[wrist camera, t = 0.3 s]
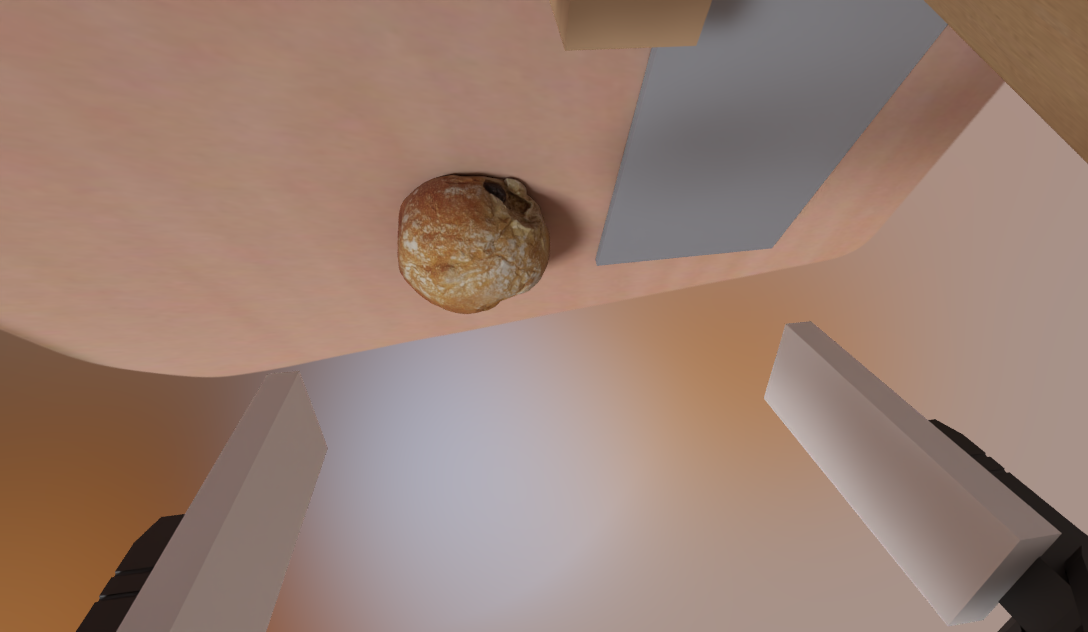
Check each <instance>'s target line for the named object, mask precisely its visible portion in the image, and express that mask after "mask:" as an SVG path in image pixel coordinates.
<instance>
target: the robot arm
mask: <svg viewBox="0 0 1088 632" xmlns="http://www.w3.org/2000/svg"><path fill="white" fill-rule="evenodd" d="M764 399H765V400H766V402H767V403H768V404H769V405H770V406H771V408H772V409H773V410H774V411H775V413H776V414H777V415H778V416H779V418H780V419H781V420H782V421H783V423H784V424H785V425H786V426H787V427H788V429H789V430H790V431H791V433H792V434H793V435H794V436H795V437H796V439H797V440H798V441H799V442H800V444H801V445H802V446H803V447H804V448H805V450H806V451H807V452H808V454H809V455H810V456H811V457H812V459H813V460H814V461H815V462H816V463H817V465H818V466H819V467H820V468H821V470H822V471H823V472H824V473H825V475H826V476H827V477H828V478H829V480H830V481H831V482H832V483H833V484H834V486H835V487H836V488H837V490H838V491H839V492H840V493H841V494H842V496H843V497H844V498H845V499H846V501H847V502H848V503H849V504H850V506H851V507H852V508H853V509H854V511H855V512H856V513H857V514H858V516H859V517H860V518H861V519H862V520H863V522H864V523H865V524H866V525H867V527H868V528H869V529H870V530H871V531H872V533H873V534H874V535H875V536H876V538H877V539H878V540H879V542H880V543H881V544H882V545H883V546H884V548H885V549H886V550H887V551H888V553H889V554H890V555H891V556H892V558H893V559H894V560H895V561H896V563H897V564H898V565H899V566H900V567H901V569H902V570H903V571H904V573H905V574H906V575H907V576H908V578H909V579H910V580H911V581H912V583H913V584H914V585H915V586H916V587H917V589H918V590H919V591H920V592H921V594H922V595H923V596H924V597H925V599H926V600H927V601H928V602H929V604H930V605H931V606H932V607H933V608H934V610H935V611H936V612H937V614H938V615H939V616H940V617H941V618H942V620H943V621H944V622H945V623H946V625H947V626H952V625H958V624H963V623H969V622H975V621H980V620H984V618H985V617H986V616H987V615H988V614H989V613H990V612H991V611H992V610H993V609H994V608H995V606H996V605H997V604H998V603H1000V604H1001V605H1002V606H1003V607H1004V608H1005V609H1006V610H1007V612H1008V613H1009V614H1010V615H1011V616H1012V617H1011V618H1010V619H1009V621H1007V622H1006V623H1005V624H1004V626H1003V627H1002V628H1001V629H1000V630H999V631H998V632H1088V536H1087V535H1086V534H1085V533H1083V532H1082V531H1081V530H1080V529H1078V528H1077V527H1076V526H1075V525H1073V524H1072V523H1071V522H1070V521H1068V520H1067V519H1066V518H1065V517H1063V516H1062V515H1061V514H1060V513H1059V512H1057V511H1056V510H1055V509H1054V508H1052V507H1051V506H1050V505H1049V504H1048V503H1046V502H1045V501H1044V500H1043V499H1041V498H1040V497H1039V496H1038V495H1037V494H1035V493H1034V492H1033V491H1032V490H1030V489H1029V488H1028V487H1027V486H1025V485H1024V484H1023V483H1022V482H1020V481H1019V480H1018V479H1017V478H1016V477H1014V476H1013V475H1012V474H1011V473H1006V472H1005V470H1004V468H1003V467H1002V466H1001V465H1000V464H998V463H997V462H996V461H995V460H994V459H992V458H991V457H987V456H986V455H985V452H984V451H983V450H981V449H980V448H979V447H978V446H976V445H975V444H974V443H973V442H971V441H970V440H969V439H968V438H967V437H965V436H964V435H963V434H961V433H959V432H957V431H956V430H954V429H952V428H950V427H948V426H946V425H944V424H943V423H941V422H939V421H937V420H935V419H934V420H927V419H926V418H925V417H924V416H922V415H921V414H920V413H919V412H917V411H916V410H915V409H914V408H913V407H912V406H910V405H909V404H908V403H907V402H906V401H904V400H903V399H902V398H901V397H900V396H899V395H897V394H896V393H895V392H894V391H893V390H892V389H890V388H889V387H888V386H887V385H886V384H884V383H883V382H882V381H881V380H880V379H879V378H877V377H876V376H875V375H874V374H873V373H871V372H870V371H869V370H868V369H867V368H865V367H864V366H863V365H862V364H861V363H860V362H858V361H857V360H856V359H855V358H853V357H852V356H851V355H850V354H849V353H848V352H847V351H845V350H844V349H843V348H842V347H841V346H839V345H838V344H837V343H836V342H835V341H833V340H832V339H831V338H830V337H829V336H827V334H825V333H824V332H823V331H822V330H820V329H819V328H818V327H817V326H816V325H815V324H813V323H812V322H811V321H810V322H800V323H789V324H786V325H785V328H784V332H783V335H782V339H781V342H780V345H779V349H778V352H777V355H776V359H775V362H774V366H773V369H772V372H771V376H770V379H769V383H768V386H767V389H766V393H765V396H764ZM327 449H328V448H327V445H326V442H325V439H324V436H323V434H322V431H321V428H320V426H319V423H318V420H317V418H316V415H315V412H314V410H313V407H312V404H311V401H310V399H309V396H308V393H307V391H306V388H305V385H304V382H303V380H302V377H301V374H300V371H293V372H283V373H273V374H267V376H266V377H265V379H264V381H263V382H262V384H261V386H260V387H259V389H258V391H257V393H256V394H255V396H254V398H253V399H252V401H251V403H250V405H249V406H248V408H247V410H246V411H245V413H244V415H243V417H242V418H241V420H240V422H239V423H238V425H237V427H236V429H235V430H234V432H233V434H232V435H231V437H230V439H229V440H228V442H227V444H226V445H225V447H224V449H223V450H222V452H221V454H220V456H219V457H218V459H217V461H216V463H215V464H214V466H213V468H212V469H211V471H210V473H209V474H208V476H207V478H206V479H205V481H204V483H203V485H202V487H201V488H200V490H199V491H198V493H197V495H196V497H195V498H194V500H193V502H192V504H191V505H190V507H189V508H188V510H187V512H186V514H182V515H174V516H166V517H161V518H160V519H159V520H158V521H157V522H156V523H155V524H153V525H152V526H151V527H150V528H149V529H148V530H147V531H146V532H145V533H144V534H143V535H142V536H141V537H140V538H139V539H138V540H136V541H135V542H134V544H133V545H132V547H131V548H130V550H129V551H128V553H127V554H126V556H125V557H124V559H123V560H122V562H121V564H120V565H119V567H118V568H117V570H116V571H115V573H116V574H115V576H114V577H112V578H111V579H110V580H109V582H108V583H107V585H106V587H105V588H104V589H103V591H102V593H101V594H100V596H99V597H100V599H99V601H98V602H95V603H94V605H93V606H92V608H91V610H90V611H89V613H88V614H87V616H86V617H85V619H84V620H83V622H82V623H81V625H80V626H79V628H78V629H77V631H76V632H266V630H267V627H268V624H269V621H270V618H271V615H272V612H273V609H274V606H275V603H276V600H277V597H278V594H279V591H280V588H281V585H282V583H283V580H284V577H285V573H286V571H287V568H288V565H289V562H290V559H291V556H292V553H293V550H294V547H295V544H296V541H297V538H298V535H299V532H300V529H301V526H302V523H303V520H304V517H305V514H306V511H307V508H308V505H309V502H310V499H311V496H312V494H313V491H314V488H315V484H316V482H317V478H318V475H319V473H320V470H321V467H322V464H323V460H324V458H325V455H326V452H327Z"/></svg>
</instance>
